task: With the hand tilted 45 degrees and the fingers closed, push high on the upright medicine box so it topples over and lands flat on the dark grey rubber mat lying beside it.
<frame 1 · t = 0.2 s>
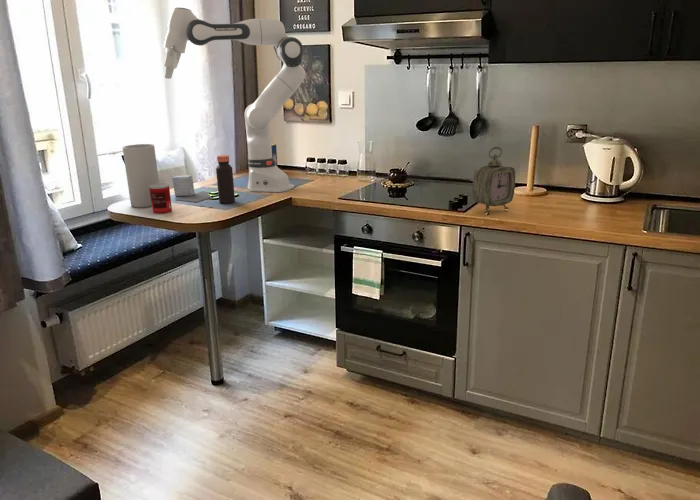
hand: (168, 78, 249), 51 cm above the kitchen counter, tool tilted 20°, fingers open, 8 cm apart
medicine box: (185, 195, 260), on the kitchen counter, touching mat
mat: (199, 197, 257), on the kitchen counter
bottle: (227, 202, 246), on the kitchen counter
protein box: (263, 174, 306), on the kitchen counter
canned food: (162, 212, 232), on the kitchen counter
cylinder vase: (146, 205, 245), on the kitchen counter
tabletop clock: (491, 212, 220), on the kitchen counter
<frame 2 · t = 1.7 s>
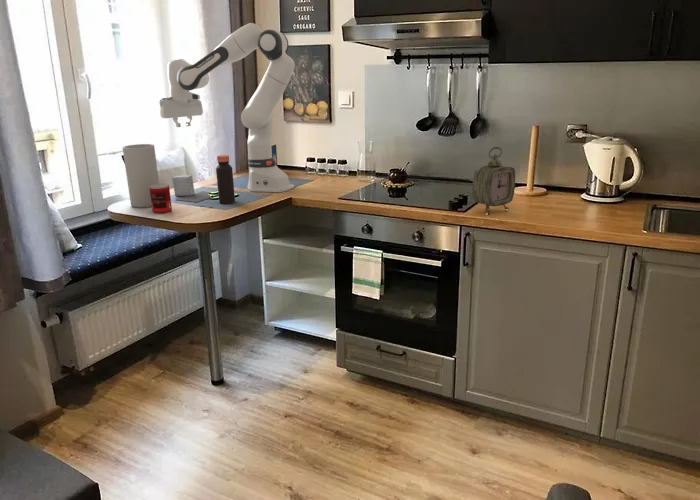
hand: (183, 126, 268), 29 cm above the kitchen counter, tool pointing down, fingers open, 4 cm apart
nothing on the kitchen counter moved.
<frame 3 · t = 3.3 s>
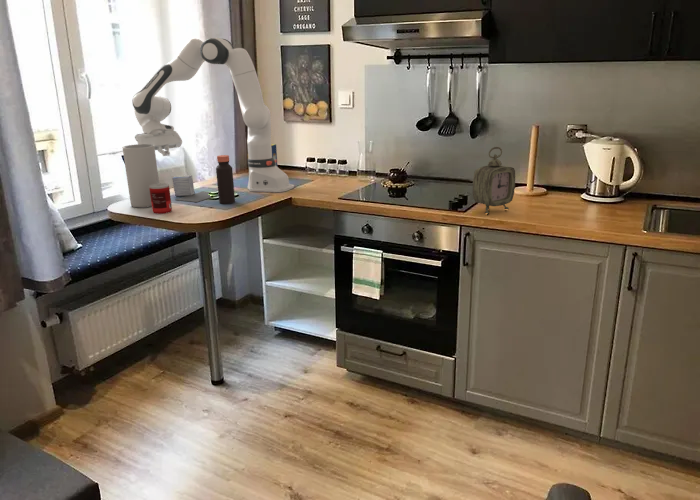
hand: (166, 155, 264), 17 cm above the kitchen counter, tool tilted 45°, fingers closed
nothing on the kitchen counter moved.
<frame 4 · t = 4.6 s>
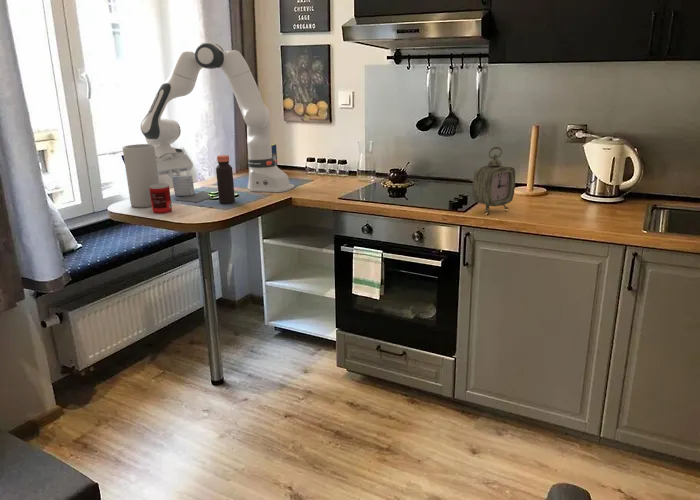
hand: (177, 179, 262), 7 cm above the kitchen counter, tool tilted 45°, fingers closed
medicine box: (185, 195, 260), on the kitchen counter, touching gripper, mat
everything else where it was.
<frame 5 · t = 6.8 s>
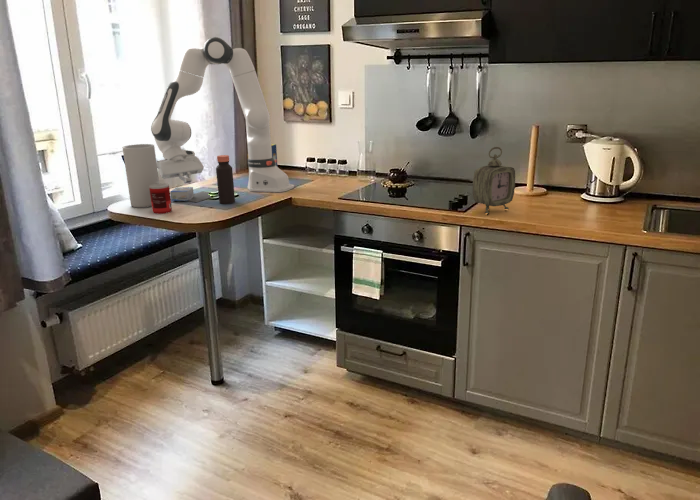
hand: (188, 182, 255), 7 cm above the kitchen counter, tool tilted 45°, fingers closed
medicine box: (185, 192, 256), point 2 cm above the kitchen counter, touching mat
everything else where it was.
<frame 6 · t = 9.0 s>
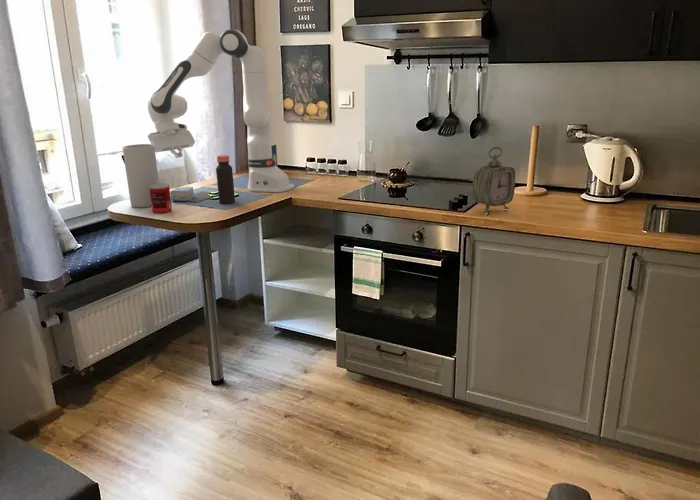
hand: (179, 157, 261), 17 cm above the kitchen counter, tool tilted 35°, fingers closed
nothing on the kitchen counter moved.
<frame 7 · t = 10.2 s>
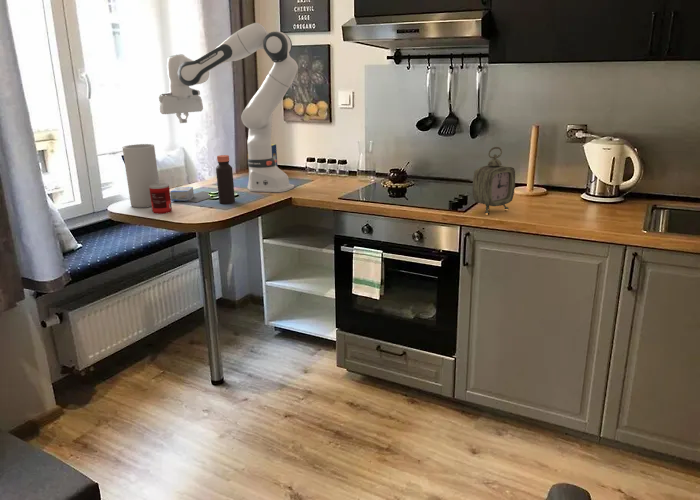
hand: (183, 122, 265), 31 cm above the kitchen counter, tool pointing down, fingers closed
nothing on the kitchen counter moved.
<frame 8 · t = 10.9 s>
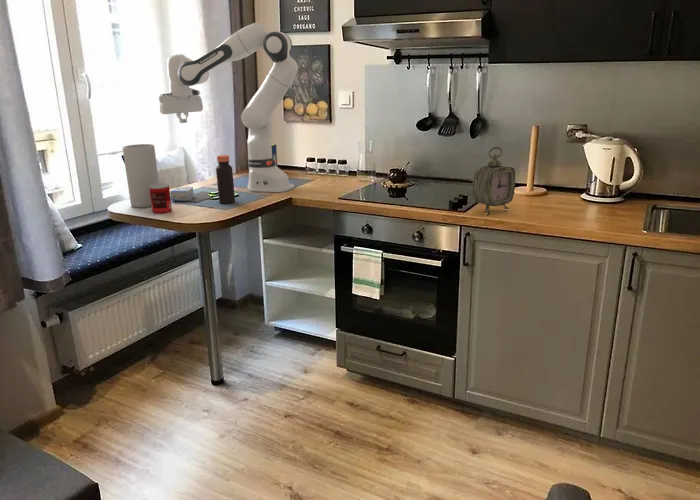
hand: (183, 122, 265), 31 cm above the kitchen counter, tool pointing down, fingers closed
nothing on the kitchen counter moved.
at the end: medicine box tilted 89°; medicine box inside the target area (4.6 cm from its centre), point 2.4 cm above the kitchen counter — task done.
